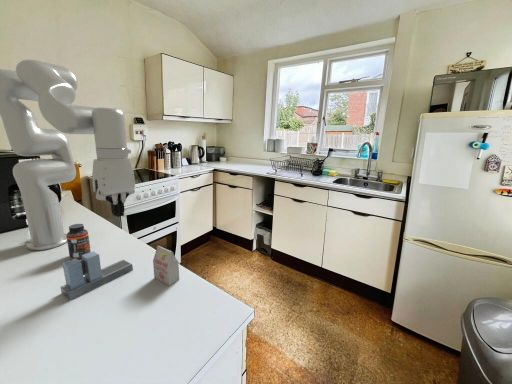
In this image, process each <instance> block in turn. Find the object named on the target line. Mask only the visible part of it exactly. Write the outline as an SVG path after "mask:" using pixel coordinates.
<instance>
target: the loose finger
mask: <svg viewBox="0 0 512 384" xmlns="http://www.w3.org/2000/svg"><path fill="white" fill-rule="evenodd" d="M80 261H81V263H83V264H84V270H85V275H84V276H85V278H86V279H88V280H89V281H93V280H95V279H97V278H99V277H101V276H102V273H101V269H102V267H101V266H102V265H101V259H100V254H99V253H98V252H96V251H94V250H93V251H91V252H90V253H87V254H84V255H82V259H80Z"/></svg>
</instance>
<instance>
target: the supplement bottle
mask: <svg viewBox="0 0 512 384" xmlns="http://www.w3.org/2000/svg"><path fill="white" fill-rule="evenodd" d="M66 234H67V242H66V243H67V247H68V254H69V258H70V260H72V259H74V258H76V259H78V260H82V255H84V254H87V253H90V252H92V251H91V245H90V235H89V231H88V230H87V229H85V225H84V224H83V223H75V224H71V225H69V226H68V232H67V233H66Z"/></svg>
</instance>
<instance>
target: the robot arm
mask: <svg viewBox="0 0 512 384" xmlns="http://www.w3.org/2000/svg"><path fill="white" fill-rule="evenodd" d="M77 89H78V80H77V78H76V75H75V74H74V73H73V72H72V71H71V70H70V69H69V68H67V67H65V66H62V65H58V64H53V63H50V62H46V61H41V60H37V59H24V60H21V61H19V62H18V63H17V64H16V67H15V70H11V69H3V68H1V69H0V118H1V121H2V124H3V128H4V130H5V133H6V136H7V139H8V143H9V146H10V148H11V150H12V152H13V153H14V154H16V155H17V156H22V157H36V156H39V157H40V156H51V158H42V159H41V158H40V159H27V160H24V161H20V162H19V161H18V163H16V164H15V165H14V166H13V167H12V175H13V178H14V180H15V183H16V184H17V186H18V188H19V192H20V194H21V198H22V203H23V207H24V212H25V216H26V222H27V227H28V231H29V236H30V240H29V241H27V243H26V248H27V250H30V251H42V250H49V249H54V248H57V247H60V246H62V245H64V244H66V243H67V233H65V231H64V224H63V220H62V214H61V208H60V207H61V206H60V203H59V201H60V200H59V198H58V195H57V194H56V193H55V192H54V191H53V190H52V189H50V188H49V187H48V186H52V185H59V184H64V183H69V182H72V181H74V180H75V178H76V176H77V170H76V169H77V168H76V165H75V162H74V158H73V154H72V150H71V147H70V144H69V140H68V138H67V137H66V135H65V134H68V135H94V136H93V137H94V145H95V153H96V159H93V161H92V163H93V164H92V190H93V193H95V194H96V195H95V199H96V200H97V201H98V200H99V201H106V202H108V203H109V204H110V209H111V214H112V215H113V216H114V217H117V218H120V217H123V216H125V203H126V201H127V198H128V197H129V196H131V195H133V194H134V193H135V192H136V191H135V189H136V181H135V179H136V178H135V173H134V168H133V164H132V160H131V159H130V158H129V155H130V154H132V150H131V149H129V148H128V144H127V142H128V141H127V133H126V121H125V114H124V112H123V111H122V110H121V109H118V108H113V107H100V106H99V107H92V106H86V105H85V106H84V105H77V104H73V103H74V101H75V99H76V91H77ZM20 100H23V101H25V100H26V101H31V102H32V101H34V102H37V103H38V108H39V111H40V114H41V116H42V117H43V118H44V119H45V121H46V122H48V124H50V126H52V127H53V128H40V126H39V124H38V121H37V118H36V115H35V113H34V112H33V111H32V110H31V108H29V107H28V106H27V105H26V104H24V103H22V101H20Z"/></svg>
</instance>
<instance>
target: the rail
mask: <svg viewBox="0 0 512 384" xmlns="http://www.w3.org/2000/svg"><path fill="white" fill-rule="evenodd" d="M133 267H134V266H133V264H132V263H131V262H129V261H126V260H125V259H121V260H120V261H119V260H118V261H117V262H115V263H113V264H110V265H107V266H105V267H103V268H101V273H102V276H101V277H99V278H97V279H95V280H93V281H89V280H88V279H86V278H85V270H84V264H83V263H81V260H80V259H76V258H74V259H69V260H67V261H64V262H62V269H63V275H64V278H65V284H64V285H62V286H60V292H61V294H62V295H63V296H64V297H65V298H66V299H67V300H69V301H72V300H74V299H76V298H79V297H81V296H83V295H84V294H87V293H90V291H93V290H94V289H97V288H99V287H101V286H103V285H105V284H107V283H109V282H111V281H113V280H116V279H118V278H121V276H124V275H126V274H128V273H130V272H131V271H133V270H134V269H133Z"/></svg>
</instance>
